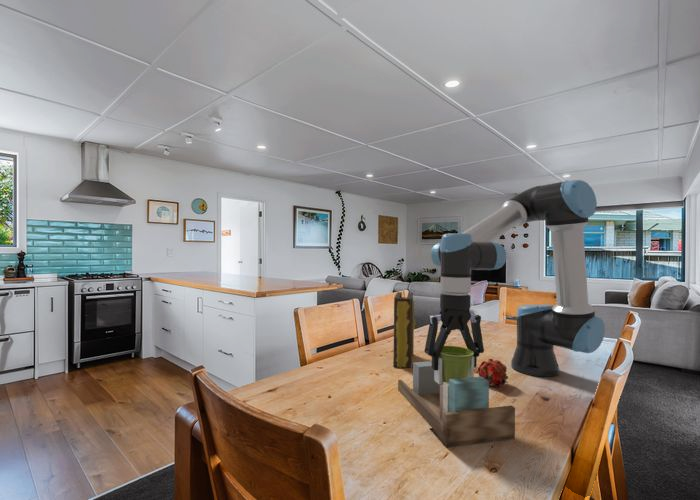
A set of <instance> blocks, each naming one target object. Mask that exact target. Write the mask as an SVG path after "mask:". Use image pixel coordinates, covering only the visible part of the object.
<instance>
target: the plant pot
mask: <svg viewBox="0 0 700 500" xmlns="http://www.w3.org/2000/svg"><path fill="white" fill-rule="evenodd" d="M473 355H474V352H473V351H471V350H470V349H467V347H463V346H460V345H459V346H457V345H444V347H443V349H442V352H441V354H440V356H439V357H441V358H442V383H443V382H449V379H458V378H467V377H468V371H469V365H470V361H471V358H472V356H473Z"/></svg>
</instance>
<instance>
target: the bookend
mask: <svg viewBox="0 0 700 500" xmlns="http://www.w3.org/2000/svg"><path fill="white" fill-rule="evenodd" d="M412 368H413V369H412V370H413V371H412V389H413V390H414V391H415V392H416V393H417V394H418V395H423V394H434V393H440V385H443V383H442V384H438V383H437V382H436V381H434V370H433V369H432V360H430V361H418V362H417V361H415V362H414V361H413V362H412Z"/></svg>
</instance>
